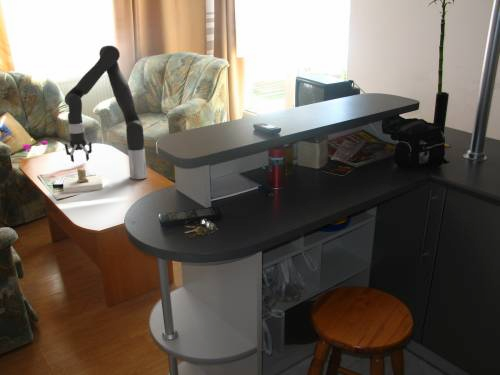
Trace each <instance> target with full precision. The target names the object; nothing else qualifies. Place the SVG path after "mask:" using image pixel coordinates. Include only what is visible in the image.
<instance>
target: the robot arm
mask: <svg viewBox="0 0 500 375" xmlns="http://www.w3.org/2000/svg"><path fill="white" fill-rule="evenodd" d="M98 56H99V59H98V60H97V62H96V63H95V64H94V65H93V66H92V67H91V68H90V69H89V70H88V71H87V72H86V73H85V74H84V75H83V76H82V77H81V78H80V80H79V81H78V82H77V84H76V85H74V87H73V88H71V89H70V90H69V91H68V92H67V93H66V95H65V97H64V103H65V105H67V106H68V114H67V119H68V121H67V122H68V132H69V139H70V142H68V143H67V142H65V143H64V148H65V153H66V155H67V156H70V161H71V162H72V163H74V162H75V160H74V158H75V157H74V153H75V152H76V151H81V150H82V151H83V152H84V153H85V160H86V162H88V161H89V160H90V157H89V156H90V155H89V154H91V153H92V151H93V150H92V148H93V147H92V146H93V145H92V141H90V140H89V141H86V136H85V128H84V123H83V116H82V112H83V103H82V101H83V100H82V98H83V97H84V96H86V95H87V94H89V92H90V91H91V90H92V89H93V88H94V86H95V85H96V83H98V81H99V80H100V79H101V77H102V76H104V74H105V73H106V74H107V78H108V81H109V83H110V86H111V89H112V90H111V91H112V93H113V95H114V98H115V101H116V103H117V105H118V107H119V109H120V110H121V112H122V115H123V118H124V122H125V127H126V128H125V129H126V130H125V131H126V132H125V133H126V142H127V153H128V165H129V166H128V167H129V176H130V177H129V178H131V179H132V180H142V179H147V178H148V174H147V173H148V172H147V161H146V151H145V138H144V127H143V125H144V124H143V123H142V121H141V119H140V117H139V116H138V113H137V111H136V106H135V102H134V97H133V94H132V91H131V87H130V85H129V83H128V80H127V79H126V77H125V76H124V74H123V73H122V71H121V68H120V65H119V62H118V61H119V59H120V56H121V54H120V50H119V49H118V48H117V47H116V46H114V45H105V46H104V45H103V46H102V47H101V48H100V50H99V55H98ZM86 146H88V150H87V148H86ZM70 147H72V148H71V150H70V151H69V148H70Z"/></svg>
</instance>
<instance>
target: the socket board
mask: <svg viewBox="0 0 500 375" xmlns="http://www.w3.org/2000/svg"><path fill="white" fill-rule="evenodd" d="M86 180H87V183H79V179H78V176H77V177H69V178H67V177H66V178H63V186H62V189H63V194H67V193H78V192H88V191H95V190H96V191H97V190H98V191H99V190H103V187H104V186H103V182H102V177H101V174H99V175H90V176H89V175H88V176H86Z"/></svg>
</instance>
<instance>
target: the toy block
mask: <svg viewBox="0 0 500 375" xmlns="http://www.w3.org/2000/svg"><path fill="white" fill-rule="evenodd" d="M41 145H42V146H47V145H48V141H46V140H43V141H41ZM22 146H23V147H22V148H23V150H30V149H32V147H31V145H30V144H27V143H26V144H22Z"/></svg>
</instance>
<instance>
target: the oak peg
mask: <svg viewBox="0 0 500 375" xmlns="http://www.w3.org/2000/svg"><path fill="white" fill-rule="evenodd" d="M86 173H87V172H86V168H85V167H81V168H80V167H79V168H77V175H78V176H77V177H78V179H79V183H87V180H86V177H87V175H86Z"/></svg>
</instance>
